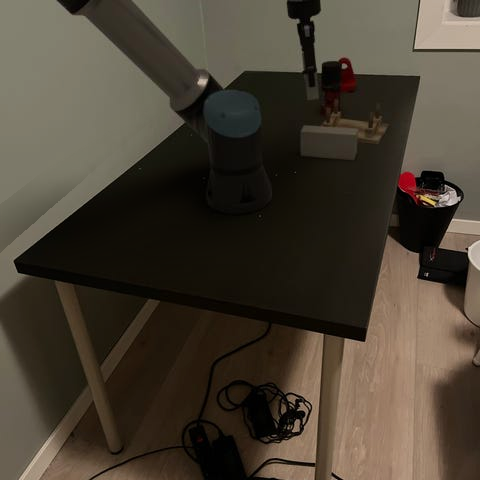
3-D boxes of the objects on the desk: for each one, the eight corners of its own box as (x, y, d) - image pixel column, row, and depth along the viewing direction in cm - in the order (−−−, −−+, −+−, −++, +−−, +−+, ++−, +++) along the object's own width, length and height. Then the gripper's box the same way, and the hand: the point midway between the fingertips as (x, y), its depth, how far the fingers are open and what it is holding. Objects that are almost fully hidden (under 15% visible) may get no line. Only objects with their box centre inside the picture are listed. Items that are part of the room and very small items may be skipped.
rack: (377, 144, 129) (380, 117, 124) (314, 136, 136) (315, 110, 132) (388, 127, 137) (391, 102, 133) (328, 120, 145) (329, 96, 140)
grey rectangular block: (354, 160, 123) (355, 135, 118) (300, 156, 127) (300, 131, 123) (356, 153, 126) (358, 128, 121) (304, 149, 130) (304, 125, 126)
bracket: (328, 92, 165) (329, 62, 159) (330, 86, 170) (331, 57, 164) (354, 92, 163) (356, 62, 157) (355, 86, 168) (357, 57, 162)
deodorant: (316, 114, 150) (317, 65, 141) (327, 108, 153) (329, 59, 144) (332, 117, 146) (334, 67, 137) (343, 111, 149) (346, 62, 141)
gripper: (324, 7, 97) (331, 106, 110) (315, -19, 116) (322, 67, 129) (287, 14, 98) (298, 110, 111) (284, -13, 117) (294, 72, 130)
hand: (311, 88), depth 120 cm, fingers open, 13 cm apart
